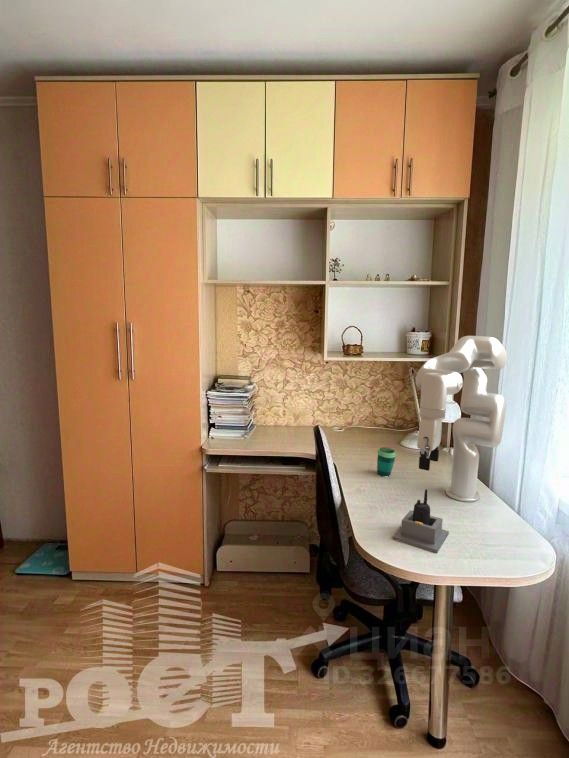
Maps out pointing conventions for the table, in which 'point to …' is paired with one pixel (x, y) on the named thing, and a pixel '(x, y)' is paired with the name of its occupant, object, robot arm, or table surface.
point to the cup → (385, 461)
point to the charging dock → (422, 533)
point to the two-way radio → (422, 511)
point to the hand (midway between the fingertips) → (428, 464)
